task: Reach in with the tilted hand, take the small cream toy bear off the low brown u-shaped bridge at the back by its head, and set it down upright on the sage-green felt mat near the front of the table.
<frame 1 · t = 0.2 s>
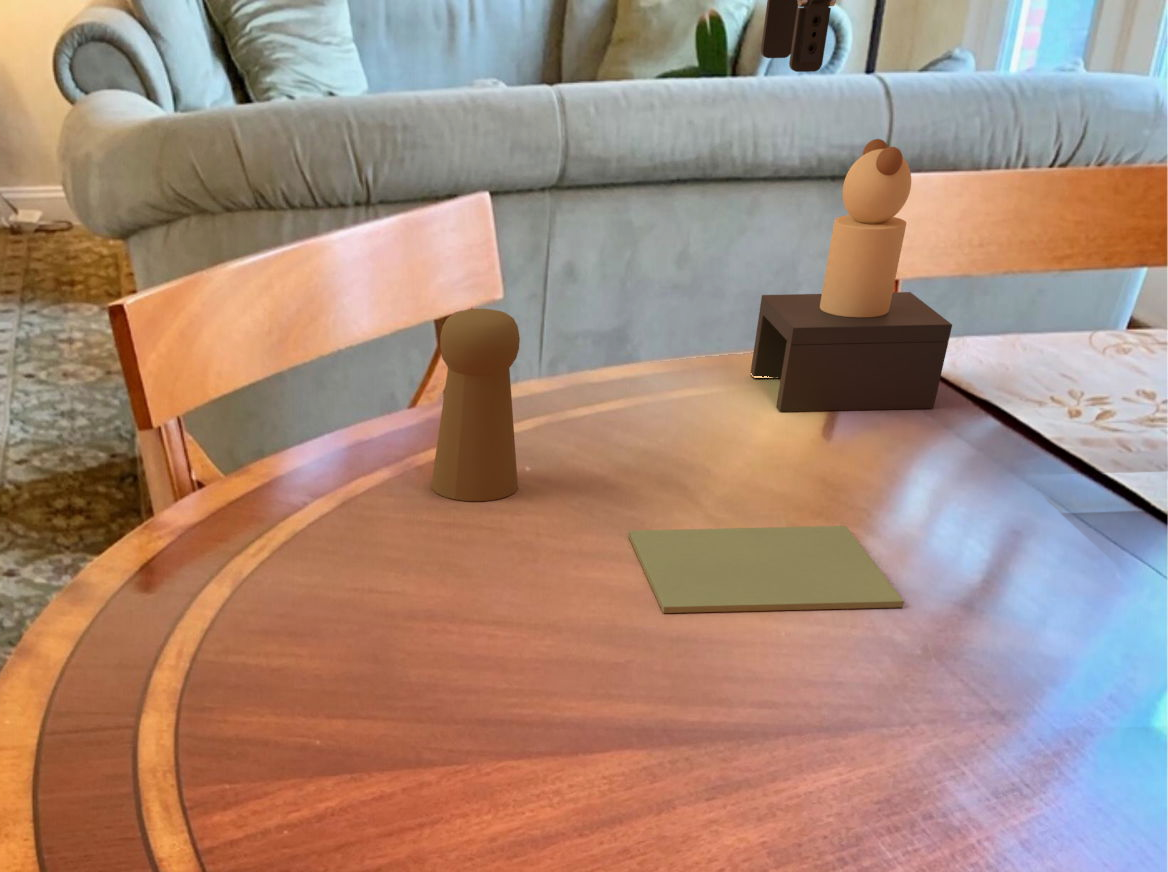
hand: (789, 64, 109), 21 cm above the table, tool pointing down, fingers open, 8 cm apart
brown pepper mill: (474, 488, 102), on the table
mat: (758, 570, 90), on the table
brown u-shaped bridge: (838, 391, 118), on the table
toy bear: (854, 309, 114), point 6 cm above the table, touching brown u-shaped bridge
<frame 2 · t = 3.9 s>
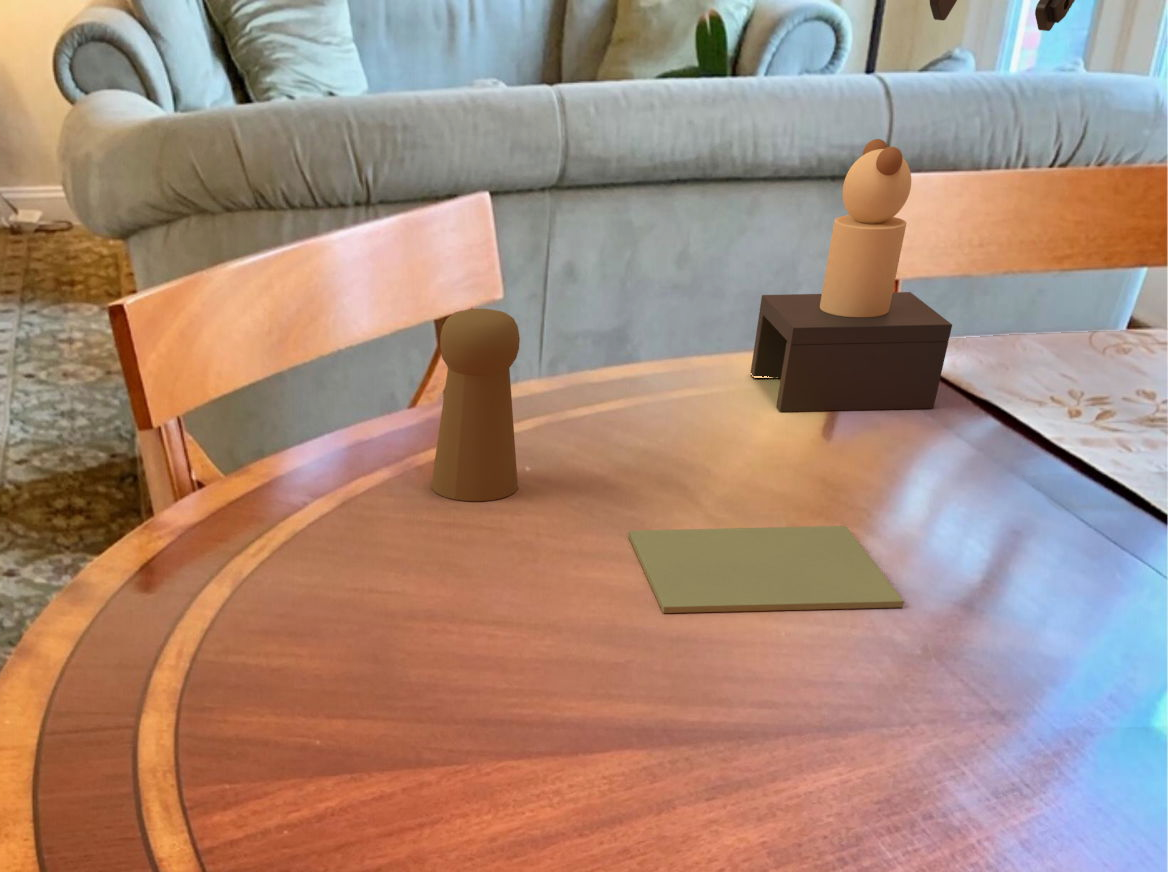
hand: (987, 16, 107), 24 cm above the table, tool tilted 45°, fingers open, 8 cm apart
nothing on the table moved.
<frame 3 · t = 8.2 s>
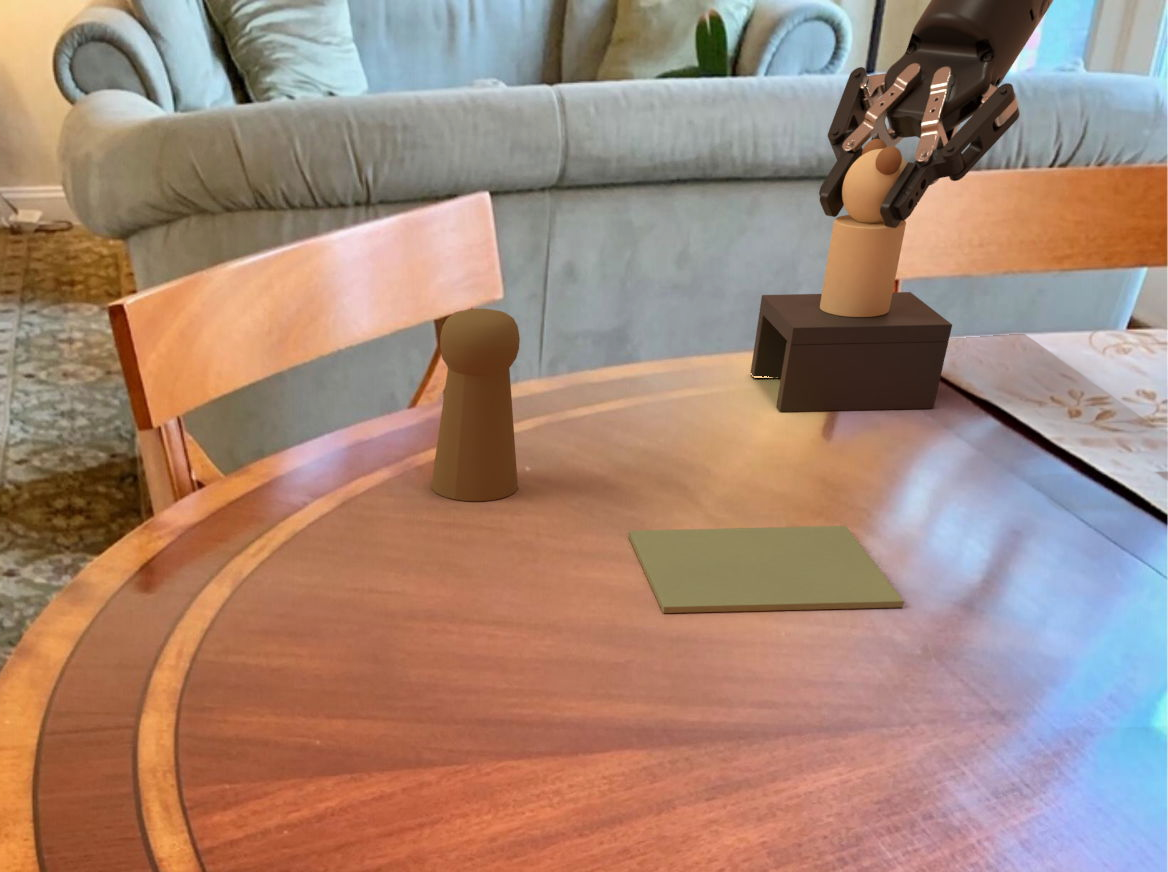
hand: (857, 213, 108), 13 cm above the table, tool tilted 45°, fingers closed on toy bear, 4 cm apart
toy bear: (854, 308, 114), point 6 cm above the table, touching gripper, brown u-shaped bridge
everything else where it was.
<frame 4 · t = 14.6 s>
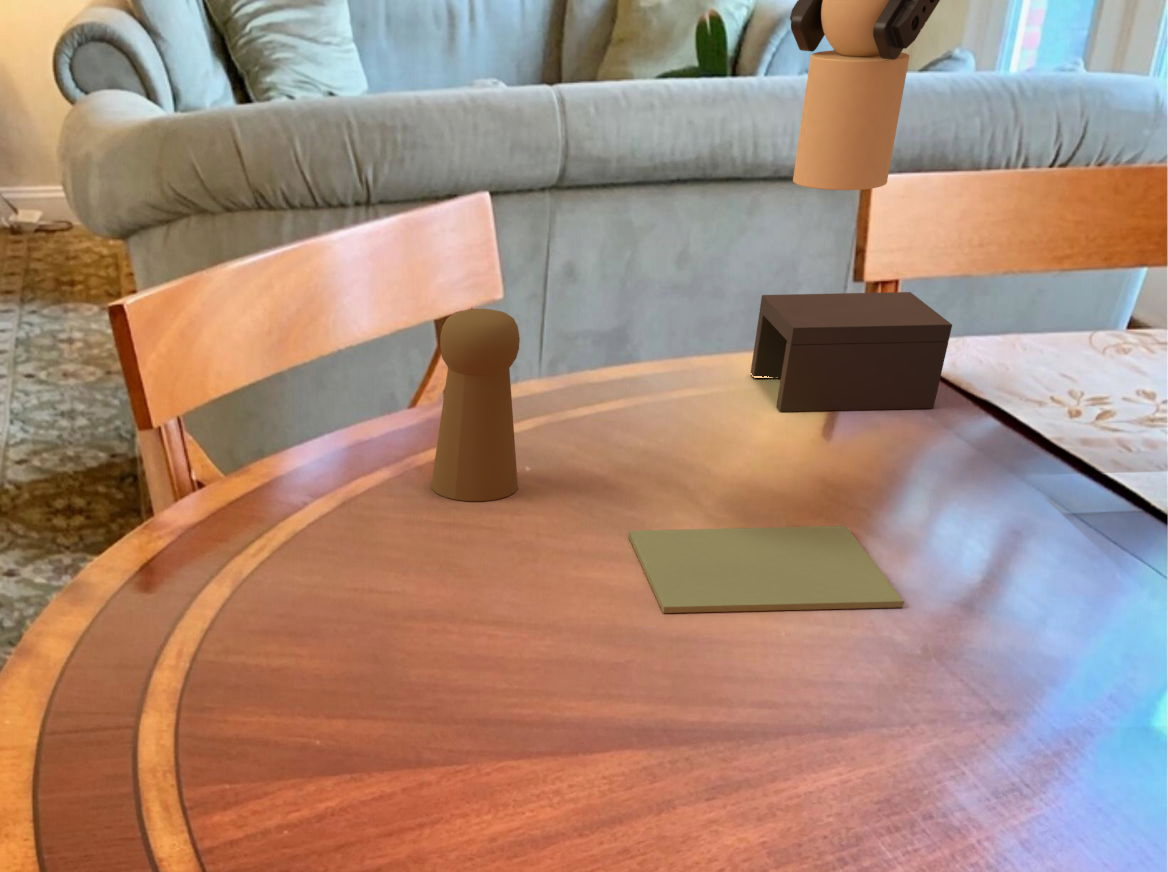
hand: (841, 41, 79), 26 cm above the table, tool tilted 45°, fingers closed on toy bear, 4 cm apart
toy bear: (839, 181, 84), point 19 cm above the table, touching gripper
everything else where it was.
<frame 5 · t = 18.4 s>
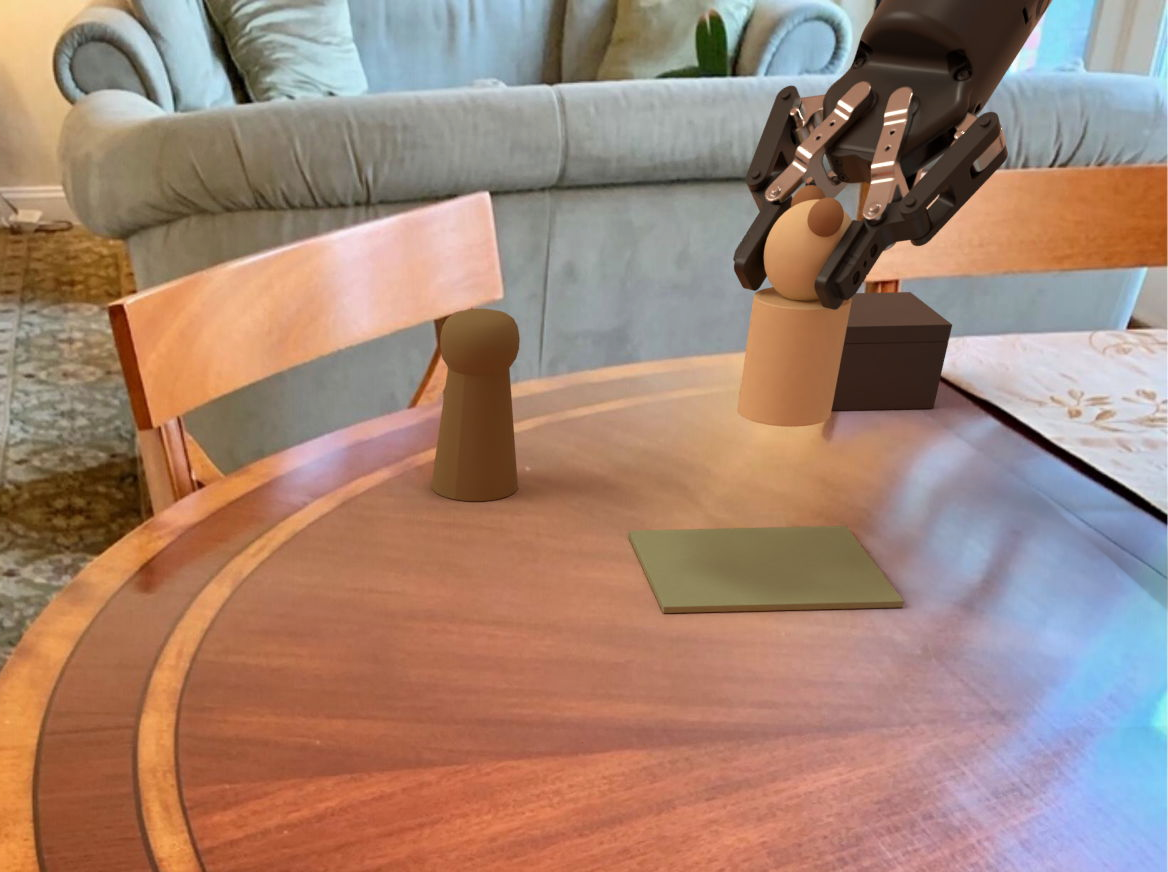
hand: (784, 288, 79), 16 cm above the table, tool tilted 45°, fingers closed on toy bear, 4 cm apart
toy bear: (783, 412, 84), point 9 cm above the table, touching gripper
everything else where it was.
when the fingers open (7 cm above the table, at t = 21.3 s): toy bear stays where it is, resting on mat.
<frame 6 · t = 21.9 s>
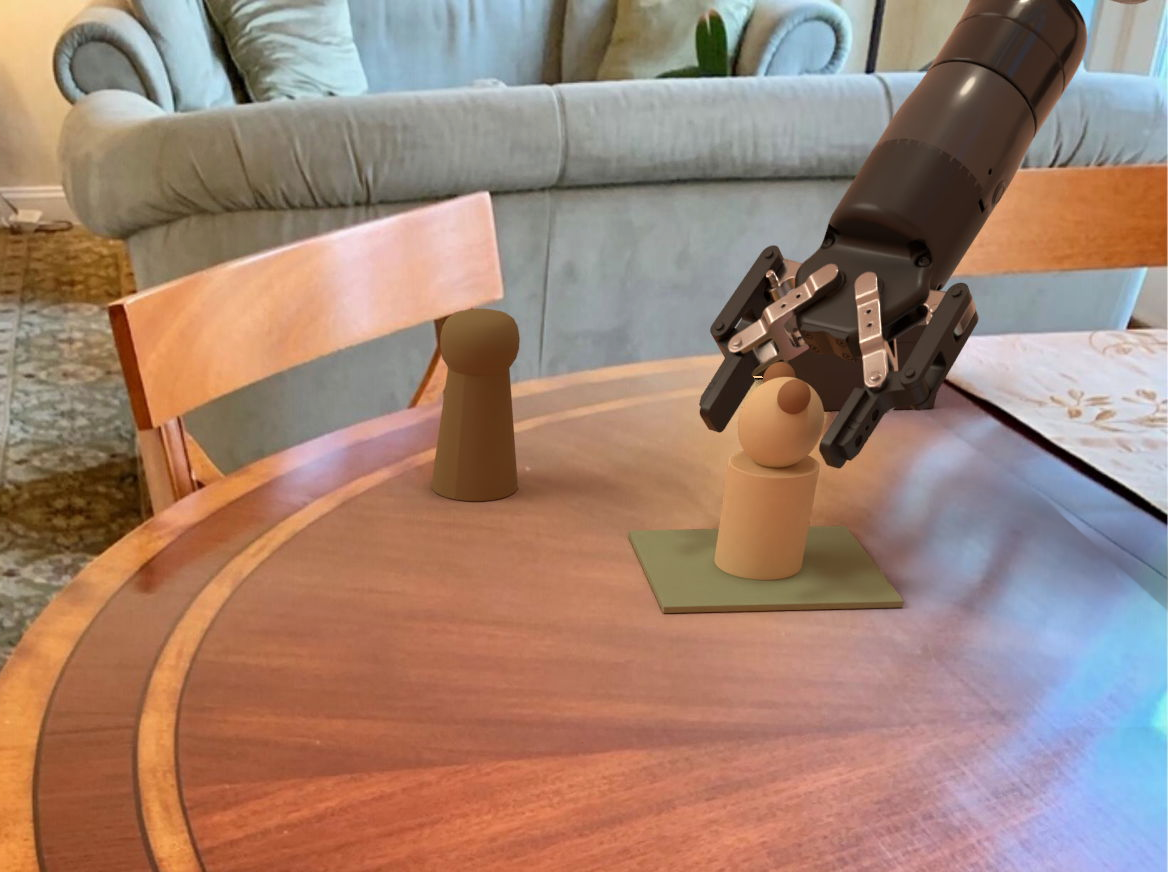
hand: (767, 441, 84), 8 cm above the table, tool tilted 45°, fingers open, 8 cm apart
toy bear: (757, 563, 90), resting on mat
everything else where it was.
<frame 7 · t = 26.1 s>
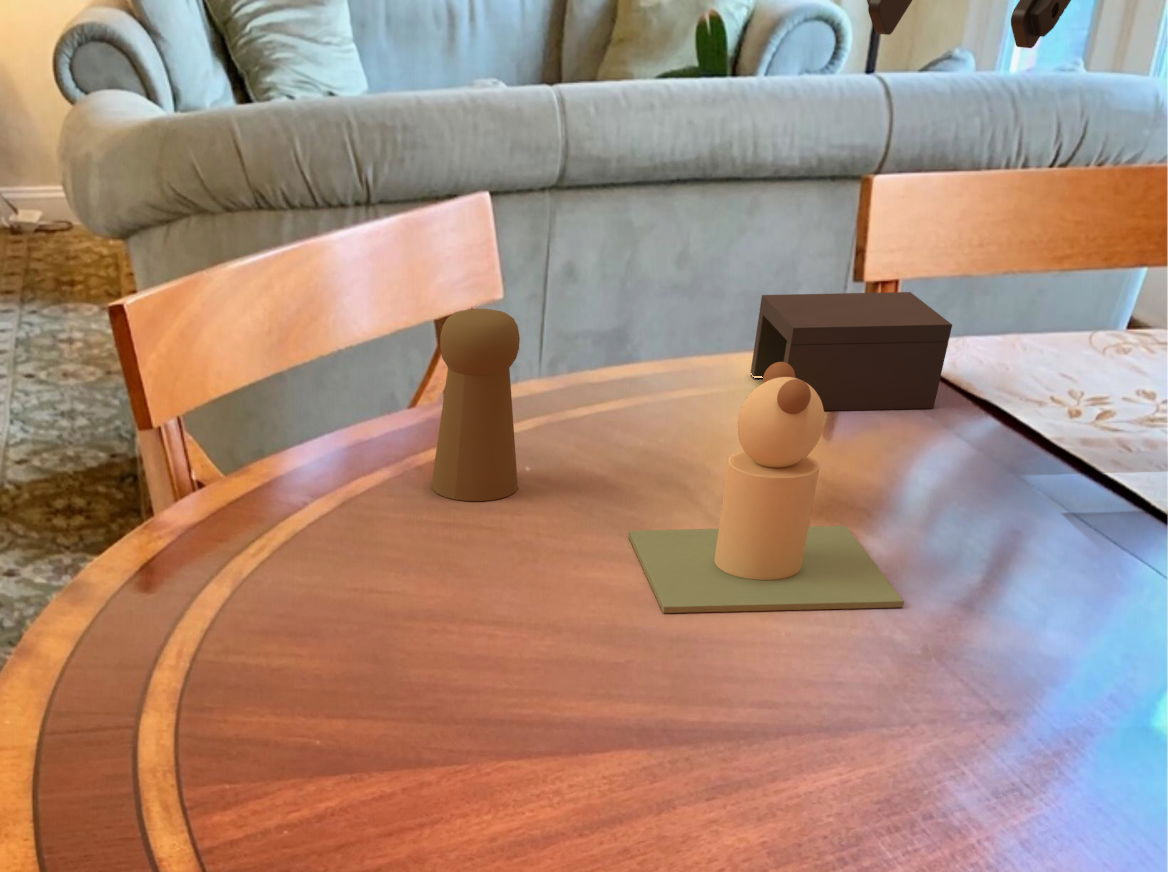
hand: (946, 28, 77), 27 cm above the table, tool tilted 45°, fingers open, 8 cm apart
nothing on the table moved.
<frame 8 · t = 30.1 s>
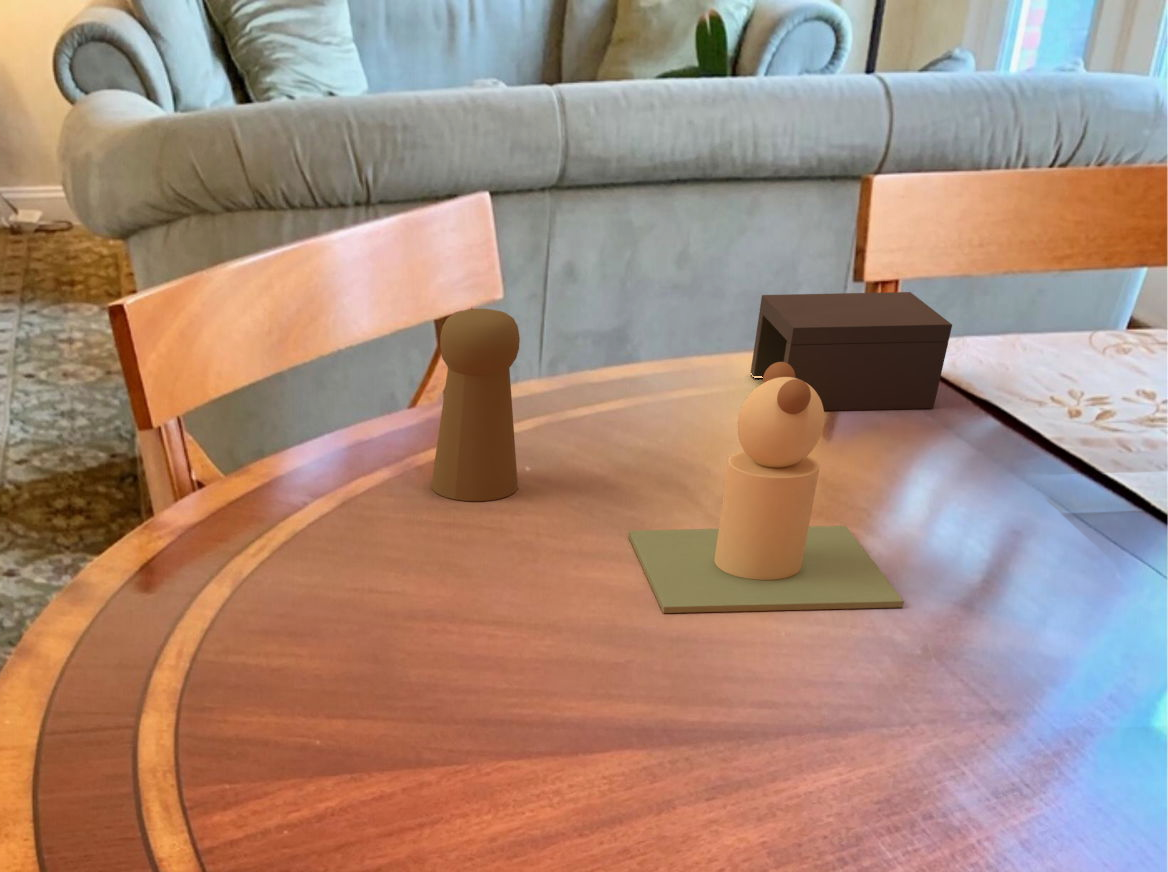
nothing on the table moved.
at the end: toy bear inside the target area on the mat (0.1 cm from its centre), point 0.4 cm above the mat's base; toy bear tilted 0°; the gripper is holding nothing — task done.
